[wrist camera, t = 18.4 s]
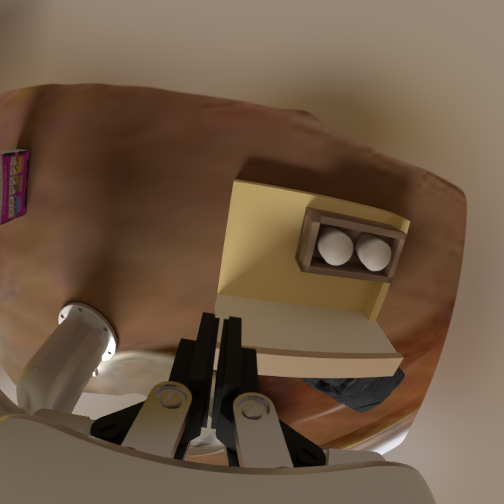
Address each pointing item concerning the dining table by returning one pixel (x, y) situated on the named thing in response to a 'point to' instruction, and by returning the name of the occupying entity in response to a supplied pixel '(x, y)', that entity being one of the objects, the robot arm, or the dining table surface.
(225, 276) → the counter shelf
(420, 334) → the dining table surface
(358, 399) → the dark slate chunk
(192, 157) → the dining table surface
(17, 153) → the candy bar box
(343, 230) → the caddy
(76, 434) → the robot arm
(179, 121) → the dining table surface
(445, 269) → the dining table surface
